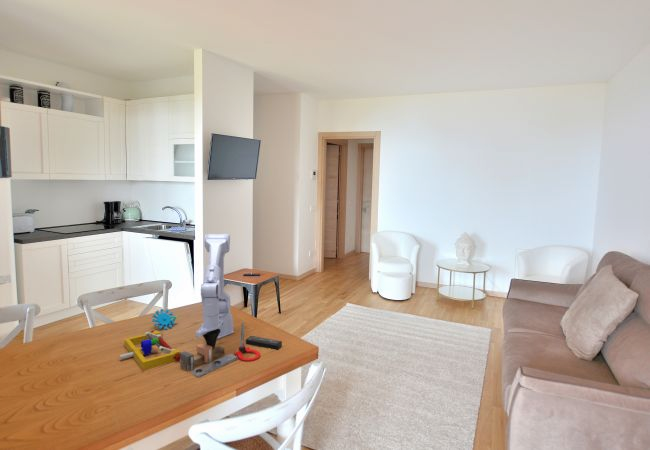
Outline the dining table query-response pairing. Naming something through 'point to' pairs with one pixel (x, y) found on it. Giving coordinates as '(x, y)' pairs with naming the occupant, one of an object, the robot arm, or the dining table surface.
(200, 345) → the block
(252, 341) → the multiport hub
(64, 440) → the dining table surface
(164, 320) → the gear
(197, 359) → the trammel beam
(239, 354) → the tow hook
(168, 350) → the yellow frame mechanism
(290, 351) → the dining table surface
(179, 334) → the dining table surface
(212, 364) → the steel strip
